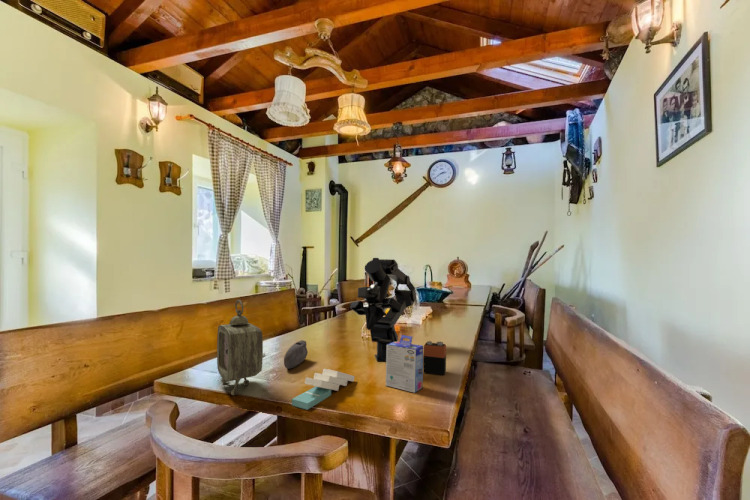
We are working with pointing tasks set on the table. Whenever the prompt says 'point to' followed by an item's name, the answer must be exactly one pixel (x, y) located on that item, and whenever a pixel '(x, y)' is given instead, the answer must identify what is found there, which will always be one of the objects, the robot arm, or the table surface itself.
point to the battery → (435, 358)
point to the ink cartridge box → (404, 365)
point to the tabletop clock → (239, 349)
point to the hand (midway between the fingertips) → (368, 329)
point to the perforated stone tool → (295, 354)
